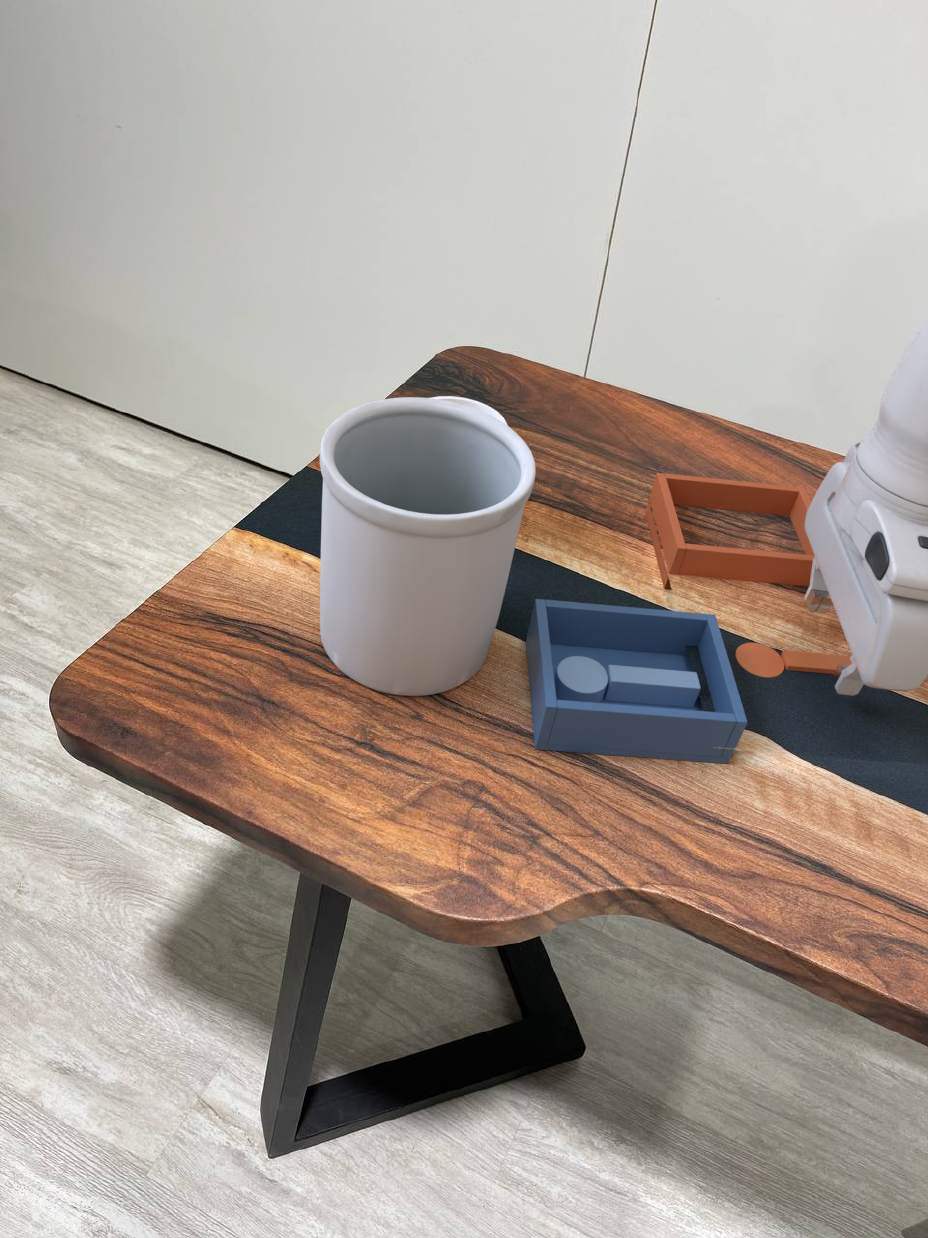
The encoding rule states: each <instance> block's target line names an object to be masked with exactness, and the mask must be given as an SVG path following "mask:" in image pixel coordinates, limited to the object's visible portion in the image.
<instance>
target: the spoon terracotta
mask: <svg viewBox="0 0 928 1238" xmlns="http://www.w3.org/2000/svg"><path fill="white" fill-rule="evenodd" d="M734 655H735V656H734V657H735V660H736V662H737V663H738V665H739V666H740V667H741V668H742V669H744V671H746V672H748V673H749V674H751V675H753V676H755V677H759V678H765V679H773V678H776V677H778V676H781V675H782V673H783V672H784V670H786V671H793V672H794V671H795V672H805V673H806V672H808V673H817V674H818V673H820V674H829V675H830V674H831V675H833V674H835V670H836V668H837V666H838V665H839V664H842V665H848V666H849V665H851V664H852V663H851V661H850V656H851V655H839V654H829V653H817V652H807V651H806V652H805V651H794V650H782V652H781V653H778V652H777V651H776V650H775V649H774V648H772V647H770V646H768V645H765V644H762V643H759V642H745V643H742V644H741V645H739V646H738V647H737V648H736V650H735V654H734Z"/></svg>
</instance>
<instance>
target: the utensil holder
mask: <svg viewBox="0 0 928 1238" xmlns="http://www.w3.org/2000/svg"><path fill="white" fill-rule="evenodd" d="M431 398H432V397H415V396H414V397H413V396H412V397H411V396H409V397H406V396H405V397H393V398H385V399H380V400H379V399H378V400H374V401H370V402H367V403H363V404H361V405H359V406H356V407H353V408H351V409H350V410H348V411H345V412H344V413H342V414H341V415H339V416H338V417H337V418H336V419H335V420H333V421H332V422H331V423H330V424H329V426H328V427H327V429H326V430H325V431H324V434H323V435H322V438H321V442H320V448H319V468H320V473H321V476H322V495H321V526H320V527H321V528H320V529H321V531H320V562H319V563H320V565H319V634H320V640H321V645H322V646H323V649H324V652H325V653H326V654H327V656H328V658H329V659H330V661H331V662H332V663H333V664H334V665H335V666H336V667H337V669H339V670H340V671H341V672H342V673H343V674H344V675H346V676H347V677H349V678H350V679H351V680H353V681H355V682H357V683H359V684H360V685H363V686H365V687H366V688H369V689H371V690H374V691H378V692H380V693H385V694H390V695H395V696H402V697H403V696H405V697H406V696H407V697H423V696H431V695H436V694H440V693H444V692H448V691H450V690H453V689H455V688H457V687H459V686H461V685H463V684H464V683H466V682H468V681H469V680H471V678H473V677H475V675H476V674H477V673H478V672H479V671H480V670H481V669H482V667H483V665H484V664H485V662H486V659H487V658H488V655H489V652H490V650H491V645H492V642H493V638H494V634H495V632H496V628H497V624H498V620H499V617H500V613H501V609H502V604H503V601H504V597H505V594H506V593H505V592H506V588H507V584H508V580H509V575H510V572H511V567H512V562H513V558H514V554H515V549H516V545H517V540H518V536H519V532H520V527H521V524H522V519H523V516H524V515H523V514H524V510H525V506H526V504H527V503H528V500H529V499H530V497H531V495H532V492H533V489H534V484H535V480H536V475H537V470H536V469H537V468H536V461H535V457H534V455H533V453H532V451H531V449H530V447H529V446H528V444H527V443H526V441H525V440H524V439H523V438H522V437H521V436H520V435H519V434H518V433H517V432H516V431H515V430H514V429H512V428H511V427H510V426H509V425H508V424H507V425H508V426H507V425H506V424H504V423H503V422H501V421H499V420H498V419H496V418H494V417H492V416H490V415H488V414H486V413H484V412H482V411H480V410H477V409H475V408H472V407H469V406H466V405H463V404H459V403H454V402H450V401H444V400H438V399H431Z"/></svg>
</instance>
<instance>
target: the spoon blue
mask: <svg viewBox="0 0 928 1238" xmlns="http://www.w3.org/2000/svg"><path fill="white" fill-rule="evenodd" d="M554 682H555V690H556V697H557V698H558V699H559V700H567V701H580V702H593V703H600V702H601V701H602V699H603V697H605V700H606V701H617V702H629V703H641V704H653V705H665V706H677V707H689V708H693V707H694V704H695V702H696V699H697V697H698V695H699V696H700V692H701V689H702V687H701V684H700V683H701V682H700V679H699V676H698V672H697V671H693V672H688V671H676V670H665V669H653V668H641V667H630V666H618V665H608V668H607V671H606V670H605V668H604V667H603V666H602V665H601V664H600V663H598V662H597V661H595V660H593V659H591V658H588V657H583V656H572V657H568V658H565V659H564V660H562V661H561V662H560V663H559V665H558V667H557V670H556V674H555V677H554Z"/></svg>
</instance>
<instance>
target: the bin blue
mask: <svg viewBox="0 0 928 1238" xmlns="http://www.w3.org/2000/svg"><path fill="white" fill-rule="evenodd" d="M530 616H531V617H530V619H529V625H528V629H527V633H526V638H525V650H526V661H527V662H526V663H527V673H528V681H529V682H528V684H529V695H530V707H531V717H532V718H531V719H532V730H533V741H534V749H535V750H540V751H551V752H553V751H554V752H566V753H578V754H579V753H580V754H593V755H605V756H606V755H607V756H618V757H619V756H620V757H631V758H647V759H661V760H673V761H687V762H699V763H715V764H727V765H728V764H730V762H731V759H732V757H733V754H734V753H735V749H736V748H737V747H738V744H739V741H740V739H741V737H742V735H743V734H744V731H745V729H746V726H747V724H748V718H747V716H746V713H745V709H744V706H743V702H742V700H741V696H740V693H739V689H738V685H737V682H736V679H735V676H734V672H733V669H732V666H731V663H730V659H729V657H728V656H729V655H728V653H727V649H726V646H725V642H724V639H723V636H722V632H721V629H720V626H719V622H718V620H717V616H716V614H712V613H700V612H689V611H678V610H668V609H667V610H666V609H658V608H657V609H655V608H646V607H645V608H643V607H632V606H622V605H609V604H599V603H589V602H578V601H577V602H576V601H567V600H565V601H564V600H555V599H554V600H553V599H544V598H534V603H533V608H532V611H531V615H530ZM688 647H697V649H698V653H699V658H700V661H701V665H702V668H703V673H704V675H705V678H706V683H707V687H708V691H709V694H710V698H711V702H712V706H713V709H714V711H706V710H705V711H704V708H703V705H702V701H701V697H700V694H699V695H698V697H697V699H696V702H695V704H694V707H693V708H689V707H677V706H665V705H653V704H641V703H629V702H617V701H606V700H605V697H603V699H602V701H601V702H600V703H593V702H580V701H567V700H559V699H558V698H557V697H556V690H555V682H554V677H555V674H556V670H557V667H558V665H559V663H560V662H561V661H562V660H564V659H565V658H568V657H572V656H583V657H588V658H591V659H593V660H595V661H597V662H598V663H600V664H601V665H602V666H603V667H604V668H605V670H606V671H607V668H608V665H618V666H630V667H641V668H653V669H665V670H676V671H688V672H694V670H693V666H692V663H691V659H690V655H689V651H688Z"/></svg>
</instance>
